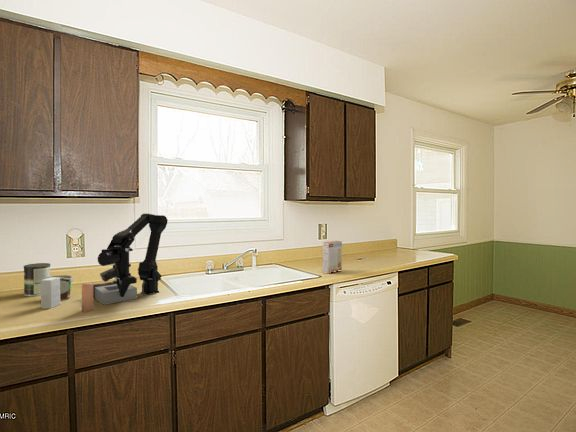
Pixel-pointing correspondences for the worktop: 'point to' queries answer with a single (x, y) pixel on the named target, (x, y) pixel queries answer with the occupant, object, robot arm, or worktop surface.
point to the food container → (64, 286)
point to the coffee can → (35, 278)
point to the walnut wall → (100, 286)
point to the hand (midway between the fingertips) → (122, 296)
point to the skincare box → (50, 292)
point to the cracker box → (332, 256)
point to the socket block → (114, 294)
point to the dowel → (87, 297)
